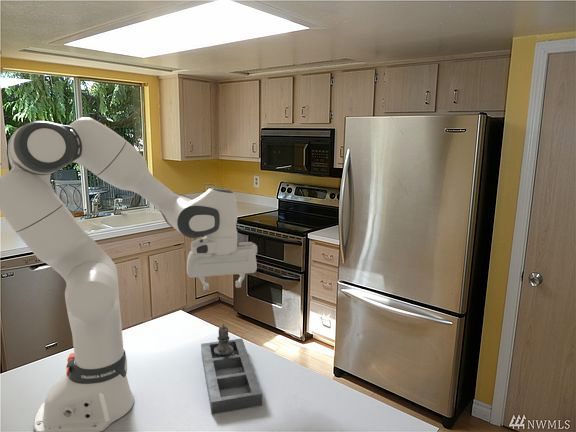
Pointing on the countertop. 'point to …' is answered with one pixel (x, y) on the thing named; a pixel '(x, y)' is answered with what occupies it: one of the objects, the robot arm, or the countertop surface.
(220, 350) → the grey stone finial
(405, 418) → the countertop surface
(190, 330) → the countertop surface
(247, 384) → the grey rectangular frame piece
